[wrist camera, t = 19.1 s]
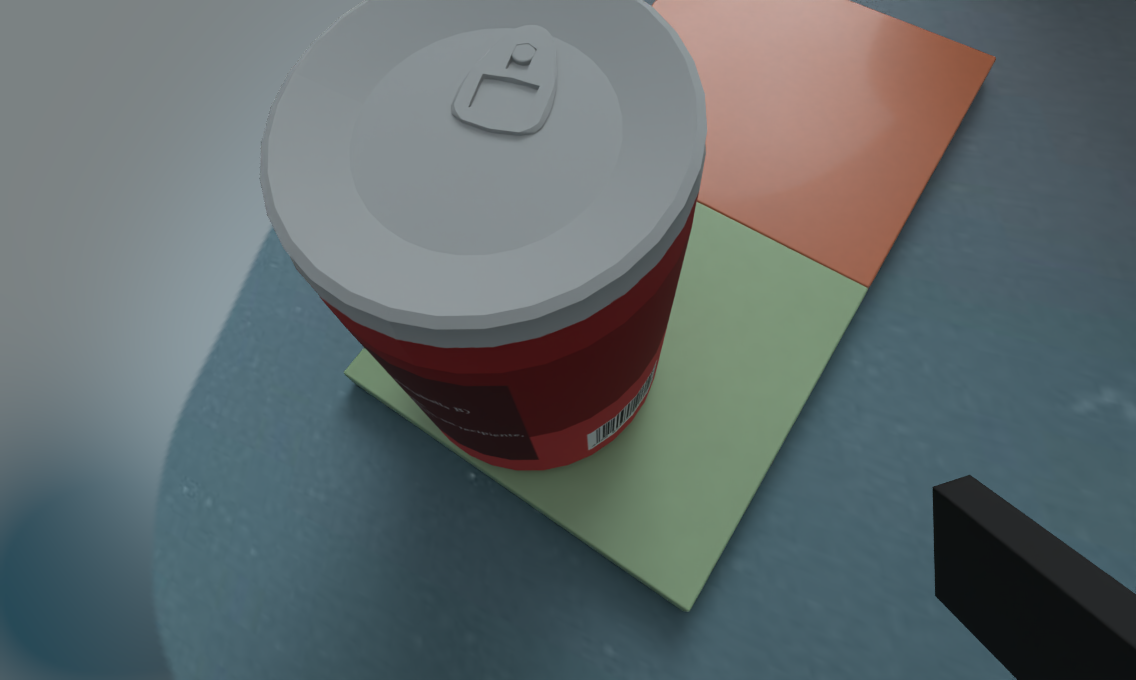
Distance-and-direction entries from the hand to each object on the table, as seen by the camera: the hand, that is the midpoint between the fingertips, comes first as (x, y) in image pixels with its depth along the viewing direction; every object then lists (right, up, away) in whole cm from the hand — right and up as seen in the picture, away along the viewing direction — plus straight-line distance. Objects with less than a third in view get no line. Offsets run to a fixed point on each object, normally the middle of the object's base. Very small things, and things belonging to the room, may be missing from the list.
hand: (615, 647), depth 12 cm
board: (+4, +10, +12) cm, 16 cm away
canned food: (-2, +5, +9) cm, 11 cm away
